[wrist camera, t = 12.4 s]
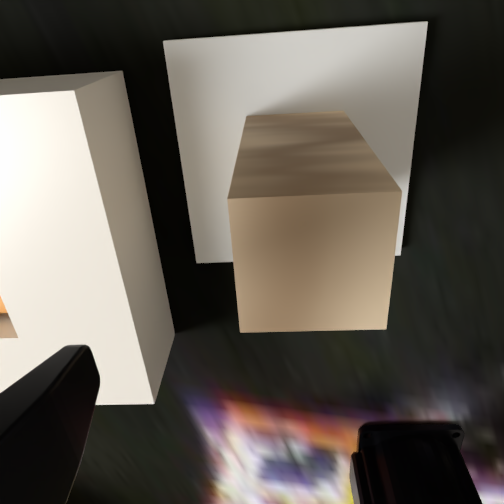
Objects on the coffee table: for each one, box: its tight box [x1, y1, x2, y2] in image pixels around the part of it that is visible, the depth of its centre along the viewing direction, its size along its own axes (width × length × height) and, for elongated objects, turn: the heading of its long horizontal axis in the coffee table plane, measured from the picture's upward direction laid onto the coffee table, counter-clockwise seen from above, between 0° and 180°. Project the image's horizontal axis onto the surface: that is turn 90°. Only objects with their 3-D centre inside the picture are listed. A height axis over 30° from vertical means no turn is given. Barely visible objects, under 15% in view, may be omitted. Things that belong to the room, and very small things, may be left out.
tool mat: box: [163, 21, 428, 263], centre depth 19 cm, size 10×10×1 cm
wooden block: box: [227, 111, 402, 333], centre depth 15 cm, size 4×4×9 cm
